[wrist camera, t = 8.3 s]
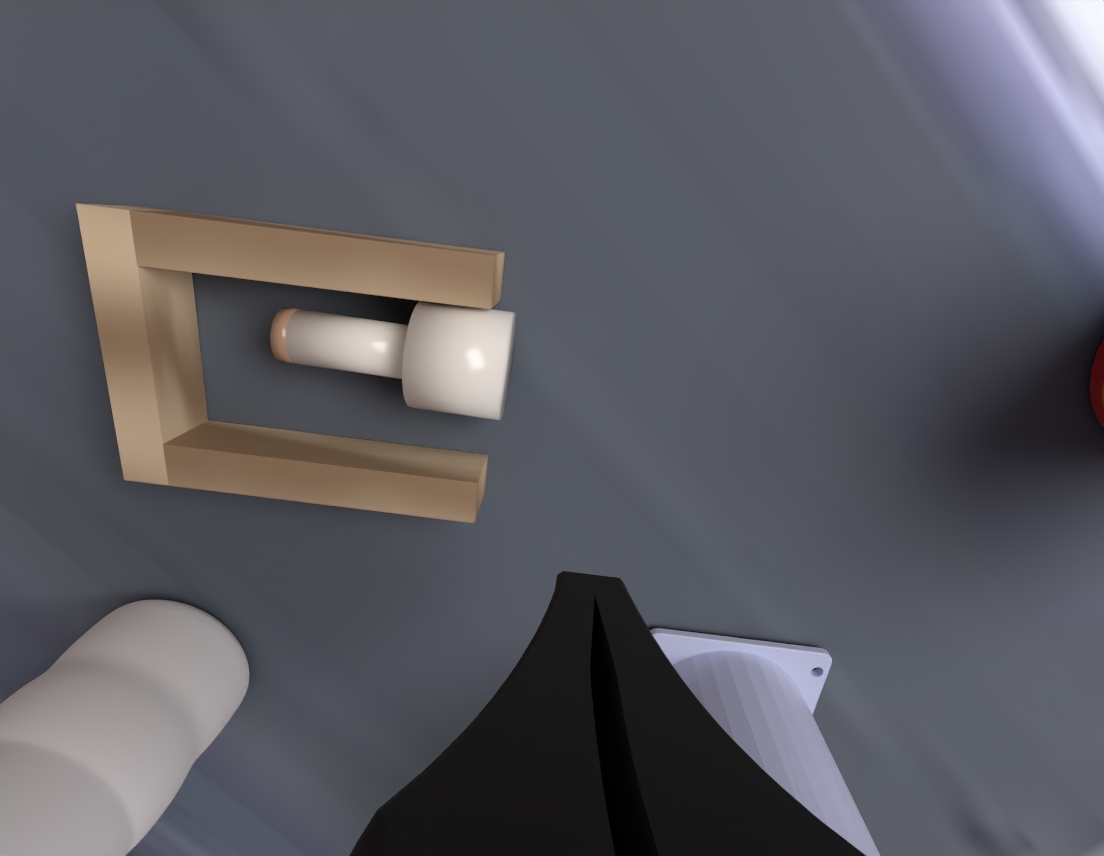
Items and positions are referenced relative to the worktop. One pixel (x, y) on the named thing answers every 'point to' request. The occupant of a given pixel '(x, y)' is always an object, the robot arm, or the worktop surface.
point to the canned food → (1098, 384)
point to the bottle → (412, 352)
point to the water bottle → (114, 729)
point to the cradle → (176, 366)
